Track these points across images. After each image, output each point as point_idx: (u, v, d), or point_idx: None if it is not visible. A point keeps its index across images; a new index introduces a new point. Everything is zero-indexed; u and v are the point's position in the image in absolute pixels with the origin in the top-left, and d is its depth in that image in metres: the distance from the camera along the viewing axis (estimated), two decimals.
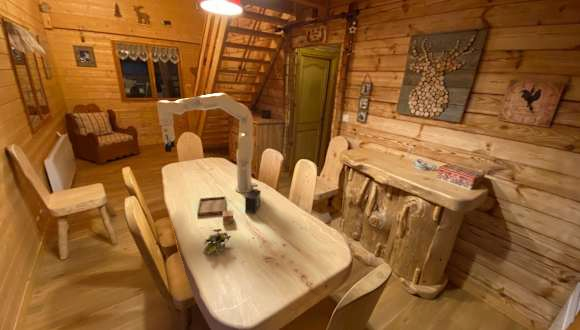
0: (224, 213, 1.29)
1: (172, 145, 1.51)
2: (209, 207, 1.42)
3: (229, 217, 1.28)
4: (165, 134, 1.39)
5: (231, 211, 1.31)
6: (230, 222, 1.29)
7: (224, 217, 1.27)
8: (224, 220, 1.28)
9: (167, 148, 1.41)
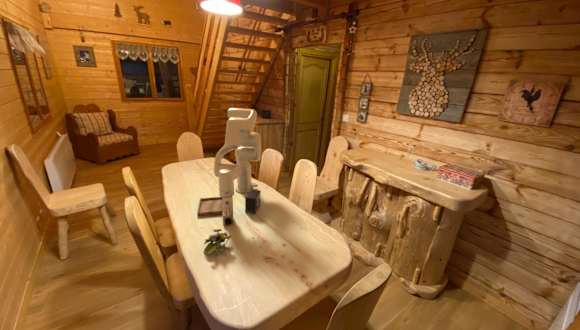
0: None
1: None
2: (209, 207, 1.42)
3: None
4: (226, 208, 1.23)
5: None
6: None
7: (224, 217, 1.27)
8: (224, 220, 1.28)
9: (227, 221, 1.27)
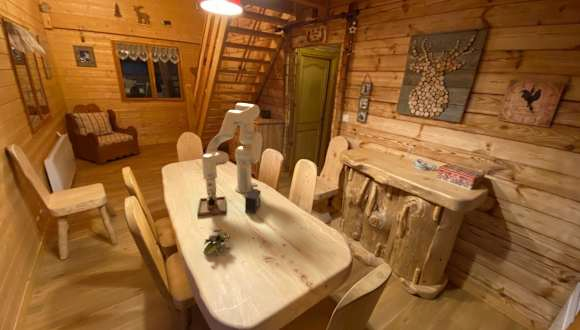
0: (208, 198, 1.41)
1: (213, 196, 1.46)
2: None
3: None
4: (209, 189, 1.35)
5: (215, 196, 1.44)
6: (214, 206, 1.42)
7: (208, 201, 1.39)
8: (208, 204, 1.40)
9: (211, 202, 1.38)
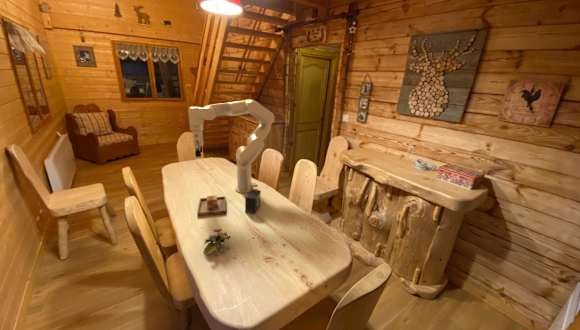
0: (208, 198, 1.41)
1: (200, 150, 1.54)
2: None
3: (213, 201, 1.40)
4: (196, 139, 1.42)
5: (215, 196, 1.44)
6: (214, 206, 1.42)
7: (208, 201, 1.39)
8: (208, 204, 1.40)
9: (197, 153, 1.44)
